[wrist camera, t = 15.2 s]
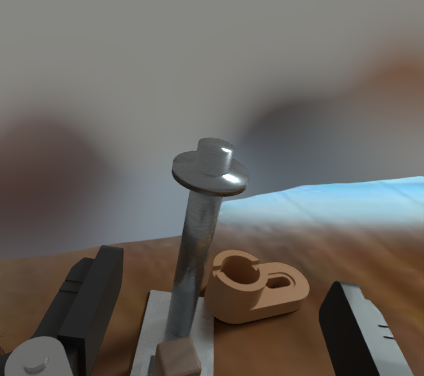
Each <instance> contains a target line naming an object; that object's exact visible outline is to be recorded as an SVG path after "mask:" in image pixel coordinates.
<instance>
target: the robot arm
mask: <svg viewBox="0 0 424 376" xmlns="http://www.w3.org/2000/svg"><path fill="white" fill-rule="evenodd" d="M123 252H124V251H123V248H118V247H112V246H105V245H102V246H101V248H100V250H99V252H98V254H97V256H96V258H95V259H91V258H83V259H82V260H80V261H79V262H78V263H77V264H75V265H74V266H73V267H72V268H71V270H70V272H69V274H68V275H67V277H66V279H65V282H63V284H62V286H61V288H60V289H59V292H58V293H57V295H56V296H55V298H54V300H53V302H52V304H51V305H50V307H49V309H48V311H47V312H46V314H45V316H44V318H43V319H42V321H41V323H40V325H39V327H38V328H37V330H36V332H35V333H34V335H33V336H32V337H31V338H30V339H29V340H28V341H26V342H24V343H22V344H21V345H20V346H18V347H17V348H16V349H15V350H14V351H12V352H10V353H7V354H4V355H0V376H90V375H91V372H92V369H93V366H94V363H95V361H96V358H97V355H98V352H99V349H100V346H101V344H102V341H103V338H104V335H105V332H106V329H107V326H108V324H109V321H110V318H111V315H112V312H113V309H114V307H115V304H116V301H117V298H118V295H119V292H120V288H121V283H122V273H123ZM319 323H320V326H321V329H322V333H323V336H324V339H325V342H326V346H327V349H328V352H329V355H330V358H331V362H332V365H333V368H334V371H335V374H336V376H414V375H413V374H412V372H411V370H410V368H409V366H408V364H407V362H406V360H405V358H404V356H403V354H402V352H401V350H400V349H399V347H398V345H397V343H396V341H395V340H394V339H393V338H394V337H393V335H392V333H391V331H390V329H388V325H387V324H386V322H385V320H384V318H383V316H382V314H381V312H380V311H379V310H378V309H377V308H376V307H375V306H374V305H373V304H372V302H371V301H370V300H365V298H364V296H363V294H362V292H361V290H360V288H359V286H358V285H357V284H353V283H346V282H339V281H335V282H334V283H333V284H332V286H331V288H330V290H329V292H328V294H327V295H326V297H325V299H324V301H323V303H322V305H321V307H320V310H319Z"/></svg>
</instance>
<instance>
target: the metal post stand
mask: <svg viewBox="0 0 424 376" xmlns="http://www.w3.org/2000/svg"><path fill="white" fill-rule="evenodd" d="M233 152H234V146H233V145H232V144H230V143H228V142H226V141H224V140H220V139H215V138H203V139H200V140H199V142H198V148H197V151H189V152H185V153H181V154H179V155H177V156H176V157H175V159H174V160H173V167H172V175H173V177H174V179H175V180H176V181H177V182H178V183H179V184H181V185H182V186H184V187H186V188H187V189H189V190H190V193H189V199H188V205H187V210H186V216H185V221H184V227H183V233H182V238H181V244H180V249H179V255H178V261H177V266H176V272H175V278H174V283H173V289H172V293H169V292H163V291H156V290H151V292H150V296H149V300H148V304H147V309H146V313H145V317H144V321H143V325H142V329H141V333H140V338H139V342H138V346H137V350H136V354H135V358H134V362H133V367H132V371H131V375H130V376H152V371H153V365H154V359H155V353H156V347H157V345H158V344H159V343H163V342H167V341H172V340H176V339H181V338H185V337H191V338H192V340H193V343H194V346H195V349H196V352H197V355H198V358H199V361H200V364H201V367H202V371H201V375H200V376H213V352H214V316H213V315H212V314H211V313H210V312H209V310H208V309H207V307H206V304H205V301H204V297H199V294H200V290H201V286H202V282H203V278H204V274H205V269H206V265H207V261H208V257H209V253H210V249H211V244H212V240H213V236H214V232H215V228H216V223H217V219H218V215H219V211H220V207H221V203H222V198H223V197H227V196H234V195H238V194H240V193H242V192H243V191H245V190H246V188H247V185H248V182H249V178H250V173H249V171H248V169H247V168H246V167H245V166H244V165H243V164H241V163H240V162H238V161H236V160H235V159H233V158H232V157H233Z"/></svg>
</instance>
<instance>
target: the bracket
mask: <svg viewBox="0 0 424 376" xmlns="http://www.w3.org/2000/svg"><path fill="white" fill-rule="evenodd" d="M258 262H259V260H258V259H257V258H256V257H254V256H252V255H250V254H248V253H246V252H243V251H238V250H228V251H224V252H221V253H220V254H218V255H217V256H216V258H215V259H214V262H213V266H212V269H211V273H210V276H209V280H208V283H207V287H206V290H205V294H204V301H205V304H206V307H207V309H208V310H209V312H210V313H211V314H212V315H213V316H215V317H216V318H217V319H219V320H221V321H223V322H226V323H230V324H240V323H245V322H249V321H254V320H258V319H263V318H267V317H271V316H276V315H280V314H285V313H289V312H293V311H296V310H298V309H300V308H301V306H302V305H303V303H304V301H305V299H306V297H307V295H308V293H309V285H308V282H307V280H306V279H305V277H304V276H303V275H302V274H301V273H300V272H299V271H298V270H296V269H295V268H293V267H291V266H289V265H286V264H283V263H277V262H274V263H266V264H259V265H258ZM272 287H281V288H275V289H271V288H272Z"/></svg>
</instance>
